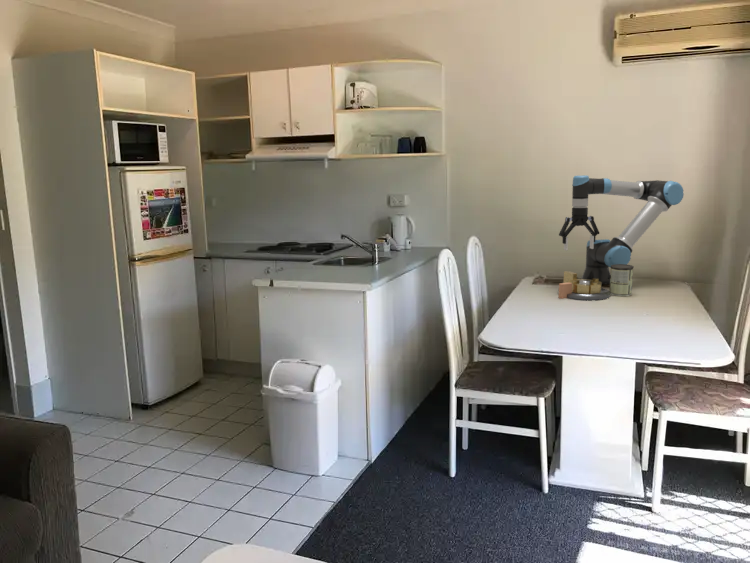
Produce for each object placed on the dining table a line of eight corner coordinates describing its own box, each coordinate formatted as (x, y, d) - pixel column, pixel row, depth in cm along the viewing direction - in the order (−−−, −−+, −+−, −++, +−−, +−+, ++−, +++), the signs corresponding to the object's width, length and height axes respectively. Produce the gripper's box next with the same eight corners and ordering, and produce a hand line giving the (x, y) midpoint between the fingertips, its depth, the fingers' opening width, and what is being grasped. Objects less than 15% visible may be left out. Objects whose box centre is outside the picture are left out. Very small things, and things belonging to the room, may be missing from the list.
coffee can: (606, 291, 311) (608, 264, 308) (628, 291, 310) (629, 264, 307) (612, 296, 301) (614, 267, 298) (634, 296, 300) (636, 267, 297)
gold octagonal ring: (607, 291, 300) (608, 277, 299) (582, 294, 295) (582, 280, 293) (577, 283, 320) (578, 270, 319) (552, 286, 315) (553, 272, 313)
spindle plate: (599, 289, 317) (599, 275, 315) (618, 299, 293) (619, 285, 292) (552, 290, 316) (552, 276, 315) (567, 301, 293) (568, 286, 291)
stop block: (568, 296, 302) (568, 282, 301) (571, 297, 300) (572, 283, 299) (558, 297, 300) (559, 283, 298) (561, 298, 298) (562, 284, 296)
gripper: (600, 205, 313) (598, 246, 317) (552, 207, 310) (551, 249, 315) (607, 206, 306) (605, 249, 310) (558, 208, 303) (557, 251, 307)
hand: (578, 249), depth 312 cm, fingers open, 13 cm apart
